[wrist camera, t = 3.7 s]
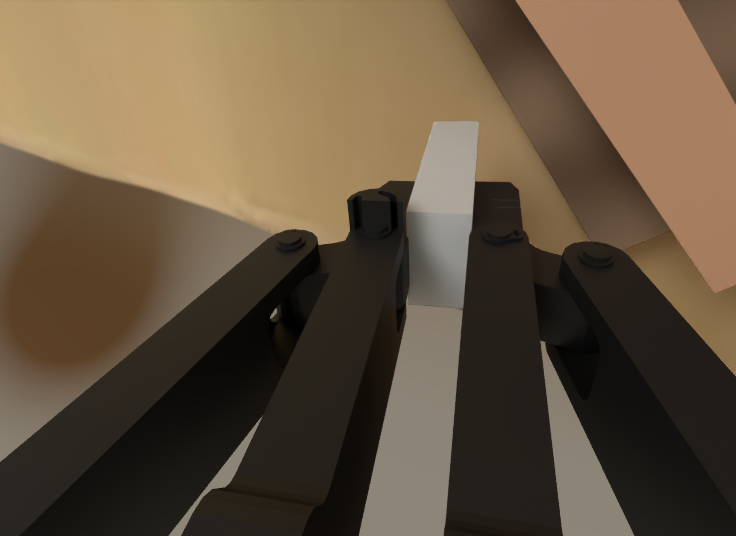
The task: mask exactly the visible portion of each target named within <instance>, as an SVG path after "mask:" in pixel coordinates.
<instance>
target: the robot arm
mask: <svg viewBox="0 0 736 536" xmlns="http://www.w3.org/2000/svg"><path fill="white" fill-rule="evenodd" d="M478 129H479V121H434V123H433V126H432V129H431V132H430V136H429V139H428V142H427V145H426V148H425V152H424V155H423V158H422V161H421V165H420V168H419V171H418V174H417V178H416V181H389V182H387V183H386V184H385V185H383V186H382V187H380V188H379V189H368V190H364V191H359V192H357V193H355V194H353V195H351V196H350V197H349V198H348V199H347V203H348V213H349V222H350V232H349V234H348V236H347V238H346V240H345V241H342V242H337V243H332V244H324V245H318V240H317V237H316V236H315V235H314V234H313V233H312V232H309V231H306V230H297V229H291V230H285V231H283V232H280V233H277V234H275V235H273V236H272V237H270V238H268V239H267V240H266V241H265V242H263V243H262V244H261V245H260V246H259V247H257V248H256V249H255V250H254V251H253V252H252V253H250V254H249V255H248V256H247V257H245V258H244V259H243V260H242V261H241V262H239V263H238V264H237V265H236V266H235V267H233V268H232V269H231V270H230V271H229V272H227V273H226V274H225V275H224V276H223V277H221V278H220V279H219V280H218V281H217V282H215V283H214V284H213V285H212V286H211V287H209V288H208V289H207V290H206V291H205V292H204V293H202V294H201V295H200V296H199V297H197V298H196V299H195V300H194V301H193V302H192V303H190V304H189V305H188V306H187V307H186V308H184V309H183V310H182V311H181V312H180V313H178V314H177V315H176V316H175V317H174V318H172V319H171V320H170V321H169V322H168V323H166V324H165V325H164V326H163V327H162V328H160V329H159V330H158V331H157V332H156V333H154V334H153V335H152V336H151V337H150V338H148V339H147V340H146V341H145V342H144V343H142V344H141V345H140V346H139V347H138V348H136V349H135V350H134V351H133V352H132V353H131V354H129V355H128V356H127V357H126V358H124V359H123V360H122V361H121V362H120V363H119V364H117V365H116V366H115V367H114V368H112V369H111V370H110V371H109V372H108V373H107V374H105V375H104V376H103V377H102V378H100V380H98V381H97V382H96V383H94V384H93V385H92V386H91V387H90V388H88V389H87V390H86V391H85V392H84V393H82V394H81V395H80V396H79V397H78V398H76V399H75V400H74V401H73V402H72V403H70V404H69V405H68V406H67V407H66V408H64V409H63V410H62V411H61V412H60V413H58V414H57V415H56V416H55V417H54V418H52V420H50V421H49V422H48V423H47V424H46V425H44V426H43V427H42V428H41V429H39V430H38V431H37V432H36V433H35V434H33V435H32V436H31V437H30V438H29V439H27V440H26V441H25V442H24V443H23V444H21V445H20V446H19V447H18V448H17V449H15V450H14V451H13V452H12V453H11V454H9V455H8V456H7V457H6V458H5V459H3V460H2V461H1V462H0V536H169V534H170V533H171V532H172V530H173V529H174V528H175V527H176V525H177V524H178V523H179V522H180V520H181V519H182V518H183V516H184V515H185V514H186V513H187V511H188V510H189V509H190V507H191V506H192V505H193V503H194V502H195V501H196V500H197V499H198V497H199V496H200V495H201V493H202V492H203V491H204V490H205V488H206V487H207V486H208V484H209V483H210V482H211V481H212V479H213V478H214V477H215V475H216V474H217V473H218V472H219V470H220V469H221V468H222V467H223V465H224V464H225V463H226V461H227V460H228V459H229V457H230V456H231V455H232V454H233V452H234V451H235V450H236V449H237V447H238V446H239V445H240V443H241V442H242V441H243V440H244V438H245V437H246V436H247V435H248V433H249V432H250V431H251V429H252V428H253V427H254V426H255V424H256V423H257V422H258V420H259V419H260V418H261V417H262V415H263V417H262V419H261V421H260V423H259V425H258V427H257V429H256V432H255V434H254V436H253V438H252V440H251V442H250V444H249V446H248V448H247V450H246V453H245V455H244V457H243V459H242V461H241V463H240V465H239V467H238V470H237V472H236V474H235V476H234V477H233V479H232V481H231V482H230V484H228V485H227V486H226V487H225V488H218V489H212V490H211V491H210V492H208V493H207V494H206V495H205V496H204V497H203V498H202V500H201V501H200V503H199V504H198V506H197V507H196V509H195V511H194V512H193V514H192V516H191V518H190V520H189V522H188V524H187V525H186V528H185V529H184V531H183V533H182V535H181V536H359V532H360V527H361V522H362V518H363V513H364V509H365V504H366V499H367V495H368V490H369V485H370V481H371V476H372V472H373V467H374V462H375V458H376V453H377V449H378V444H379V440H380V435H381V431H382V426H383V421H384V417H385V412H386V408H387V403H388V399H389V394H390V389H391V385H392V380H393V376H394V371H395V367H396V362H397V357H398V353H399V348H400V344H401V339H402V335H403V330H404V326H405V321H406V299H407V295H408V299H409V304H410V305H424V306H436V307H449V308H462V309H463V316H462V328H461V341H460V353H459V365H458V378H457V390H456V402H455V414H454V426H453V439H452V451H451V463H450V476H449V488H448V501H447V513H446V523H445V529H444V536H563V534H562V527H561V518H560V510H559V501H558V492H557V483H556V475H555V467H554V457H553V448H552V440H551V432H550V422H549V413H548V405H547V396H546V387H545V379H544V370H543V361H542V353H541V344H540V340H541V341H544V342H546V343H545V345H546V350H547V353H548V355H549V358H550V360H551V362H552V364H553V366H554V368H555V370H556V372H557V374H558V376H559V379H560V381H561V383H562V385H563V387H564V389H565V391H566V393H567V395H568V397H569V399H570V402H571V404H572V406H573V408H574V410H575V412H576V414H577V416H578V418H579V420H580V423H581V425H582V427H583V429H584V431H585V433H586V435H587V437H588V439H589V441H590V444H591V445H592V448H593V450H594V452H595V454H596V456H597V458H598V460H599V462H600V464H601V466H602V469H603V471H604V473H605V475H606V477H607V479H608V481H609V483H610V485H611V488H612V490H613V492H614V494H615V496H616V498H617V500H618V502H619V504H620V506H621V509H622V511H623V513H624V515H625V517H626V519H627V521H628V523H629V525H630V527H631V529H632V532H633V534H634V535H635V536H736V376H735V375H734V374H733V373H732V372H731V371H730V370H729V369H728V367H727V366H726V365H725V364H724V363H723V362H722V361H721V360H720V358H719V357H718V356H717V355H716V354H715V353H714V352H713V351H712V349H711V348H710V347H709V346H708V345H707V344H706V343H705V341H704V340H703V339H702V338H701V337H700V336H699V335H698V334H697V332H696V331H695V330H694V329H693V328H692V327H691V326H690V325H689V323H688V322H687V321H686V320H685V319H684V318H683V317H682V316H681V314H680V313H679V312H678V311H677V310H676V309H675V308H674V307H673V305H672V304H671V303H670V302H669V301H668V300H667V299H666V298H665V296H664V295H663V294H662V293H661V292H660V291H659V290H658V289H657V287H656V286H655V285H654V284H653V283H652V282H651V281H650V280H649V278H648V277H647V276H646V275H645V274H644V273H643V272H642V271H641V269H640V268H639V267H638V266H637V265H636V264H635V263H634V261H633V260H632V259H631V258H630V257H629V256H628V255H627V254H626V253H624V252H623V251H622V250H620V249H618V248H616V247H614V246H611V245H609V244H606V243H600V242H595V241H593V242H578V243H573V244H571V245H570V246H568V247H566V248H565V250H564V252H563V254H562V256H561V255H557V254H553V253H549V252H545V251H542V250H540V249H538V248H535V247H534V246H532V245H531V244H529V238H528V236H527V234H526V232H524V231H523V227H522V217H521V208H520V198H519V190H518V189H517V188H516V187H515V186H514V185H513V184H512V183H511V182H476V181H475V178H476V161H477V145H478ZM275 308H277V314H276V315H275V316H274V317H273V318H271V319H270V316H271V314H272V313H273V311H274V310H275Z"/></svg>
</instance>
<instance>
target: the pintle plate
mask: <svg viewBox="0 0 736 536" xmlns="http://www.w3.org/2000/svg"><path fill="white" fill-rule="evenodd" d="M446 1H447V3H448V4H449V6H450V8H451V9H452V11H453V13H454V14H455V16H456V18H457V19H458V21H459V23H460V24H461V26H462V28H463V29H464V31H465V33H466V34H467V36H468V38H469V39H470V41H471V43H472V44H473V46H474V48H475V49H476V51H477V53H478V54H479V56H480V58H481V59H482V61H483V63H484V64H485V66H486V68H487V69H488V71H489V73H490V74H491V76H492V78H493V79H494V81H495V83H496V84H497V86H498V88H499V89H500V91H501V93H502V94H503V96H504V98H505V99H506V101H507V103H508V104H509V106H510V108H511V109H512V111H513V113H514V114H515V116H516V118H517V119H518V121H519V123H520V124H521V126H522V128H523V129H524V131H525V133H526V134H527V136H528V138H529V139H530V141H531V143H532V144H533V146H534V148H535V149H536V151H537V153H538V154H539V156H540V158H541V159H542V161H543V163H544V164H545V166H546V168H547V169H548V171H549V173H550V174H551V176H552V178H553V179H554V181H555V183H556V184H557V186H558V188H559V189H560V191H561V193H562V194H563V196H564V198H565V199H566V201H567V203H568V204H569V206H570V208H571V209H572V211H573V213H574V214H575V216H576V218H577V219H578V221H579V223H580V224H581V226H582V228H583V229H584V231H585V233H586V234H587V236H588V238H589V239H590V241H591V242H593V241H595V242H600V243H606V244H609V245H611V246H614V247H616V248H618V249H620V250H625V249H627V248H630V247H632V246H634V245H637V244H639V243H642V242H644V241H646V240H649V239H651V238H654V237H656V236H659V235H661V234H663V233H666V232H668V231H671V229H670V228H669V226H668V225H667V223H666V222H665V220H664V219H663V217H662V216H661V214H660V213H659V211H658V210H657V209H656V207H655V206H654V204H653V203H652V201H651V200H650V198H649V197H648V195H647V194H646V192H645V191H644V189H643V188H642V186H641V185H640V183H639V182H638V180H637V179H636V178H635V176H634V175H633V173H632V172H631V170H630V169H629V167H628V166H627V164H626V163H625V161H624V160H623V158H622V157H621V155H620V154H619V152H618V151H617V149H616V148H615V147H614V145H613V144H612V142H611V141H610V139H609V138H608V136H607V135H606V133H605V132H604V130H603V129H602V127H601V126H600V124H599V123H598V121H597V120H596V118H595V117H594V116H593V114H592V113H591V111H590V110H589V108H588V107H587V105H586V104H585V102H584V101H583V99H582V98H581V96H580V95H579V93H578V92H577V90H576V89H575V87H574V86H573V85H572V83H571V82H570V80H569V79H568V77H567V76H566V74H565V73H564V71H563V70H562V68H561V67H560V65H559V64H558V62H557V61H556V59H555V58H554V56H553V55H552V54H551V52H550V51H549V49H548V48H547V46H546V45H545V43H544V42H543V40H542V39H541V37H540V36H539V34H538V33H537V31H536V30H535V28H534V27H533V25H532V24H531V22H530V21H529V20H528V18H527V17H526V15H525V14H524V12H523V11H522V9H521V8H520V6H519V5H518V3H517V2H516V0H446ZM678 1H679V3H680V5H681V7H682V8H683V10H684V12H685V14H686V16H687V17H688V19H689V21H690V23H691V25H692V26H693V28H694V30H695V32H696V34H697V36H698V37H699V39H700V41H701V43H702V45H703V46H704V48H705V50H706V52H707V54H708V55H709V57H710V59H711V61H712V63H713V64H714V66H715V68H716V70H717V72H718V73H719V75H720V77H721V79H722V81H723V82H724V84H725V86H726V88H727V90H728V91H729V93H730V95H731V97H732V99H733V100H734V102H735V104H736V0H678Z"/></svg>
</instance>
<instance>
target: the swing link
mask: <svg viewBox="0 0 736 536" xmlns="http://www.w3.org/2000/svg"><path fill="white" fill-rule="evenodd" d="M516 2H517V3H518V5H519V6H520V8H521V9H522V11H523V12H524V14H525V15H526V17H527V18H528V20H529V21H530V22H531V24H532V25H533V27H534V28H535V30H536V31H537V33H538V34H539V36H540V37H541V39H542V40H543V42H544V43H545V45H546V46H547V48H548V49H549V51H550V52H551V54H552V55H553V56H554V58H555V59H556V61H557V62H558V64H559V65H560V67H561V68H562V70H563V71H564V73H565V74H566V76H567V77H568V79H569V80H570V82H571V83H572V85H573V86H574V87H575V89H576V90H577V92H578V93H579V95H580V96H581V98H582V99H583V101H584V102H585V104H586V105H587V107H588V108H589V110H590V111H591V113H592V114H593V116H594V117H595V118H596V120H597V121H598V123H599V124H600V126H601V127H602V129H603V130H604V132H605V133H606V135H607V136H608V138H609V139H610V141H611V142H612V144H613V145H614V147H615V148H616V149H617V151H618V152H619V154H620V155H621V157H622V158H623V160H624V161H625V163H626V164H627V166H628V167H629V169H630V170H631V172H632V173H633V175H634V176H635V178H636V179H637V180H638V182H639V183H640V185H641V186H642V188H643V189H644V191H645V192H646V194H647V195H648V197H649V198H650V200H651V201H652V203H653V204H654V206H655V207H656V209H657V210H658V211H659V213H660V214H661V216H662V217H663V219H664V220H665V222H666V223H667V225H668V226H669V228H670V229H671V231H672V232H673V234H674V235H675V237H676V238H677V240H678V241H679V242H680V244H681V245H682V247H683V248H684V250H685V251H686V253H687V254H688V256H689V257H690V259H691V260H692V262H693V263H694V265H695V266H696V268H697V269H698V271H699V272H700V273H701V275H702V276H703V278H704V279H705V281H706V282H707V284H708V285H709V287H710V288H711V290H712V291H713V293H714V294H715V293H717V292H720V291H722V290H724V289H727V288H729V287H732V286H734V285H736V104H735V102H734V100H733V99H732V97H731V95H730V93H729V91H728V90H727V88H726V86H725V84H724V82H723V81H722V79H721V77H720V75H719V73H718V72H717V70H716V68H715V66H714V64H713V63H712V61H711V59H710V57H709V55H708V54H707V52H706V50H705V48H704V46H703V45H702V43H701V41H700V39H699V37H698V36H697V34H696V32H695V30H694V28H693V26H692V25H691V23H690V21H689V19H688V17H687V16H686V14H685V12H684V10H683V8H682V7H681V5H680V3H679V1H678V0H516Z"/></svg>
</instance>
